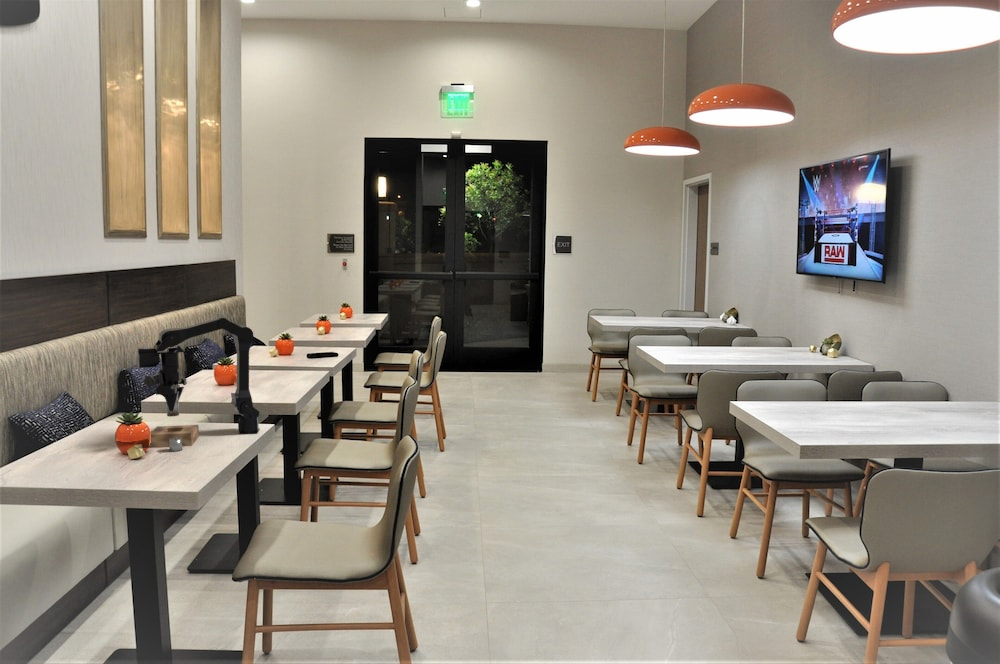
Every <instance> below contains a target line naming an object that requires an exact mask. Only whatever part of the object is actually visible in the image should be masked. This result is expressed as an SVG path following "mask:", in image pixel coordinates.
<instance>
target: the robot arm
mask: <svg viewBox="0 0 1000 664" xmlns="http://www.w3.org/2000/svg"><path fill="white" fill-rule="evenodd" d="M219 330H224V331H225V332H228V333H230V334H231V335H232V337H233V342H234V345H235V349H236V389H235V392H231V393H230V394H231V395H230V396H231V402H230V405H232V408H233V409H234V410H235V411H236V412H238V414H239V415H240V416H239V417H238V418H239V419H238V421H237V428H238V429H237V430H238V432H239V433H238V434H239V435H257V434H258V433H259V431H260V427H259V426H260V425H259V416H260V411H259V410H258V409H257V408H255V407H254V403H253V397H252V394H251V392H250V391H251V390H250V350H251V347H252V344H253V340H254V331H253V330H252V329H251V328H250V327H248V326H246V325H242V324H241V325H238V324H236V323H235V322H232V321H230V320H228V319H227V318H226V317H223V316H219V317H217V318H215V319H214V318H213V319H210V320H206V321H203V322H200V323H196V324H194V325H190V326H186V327H176V328H167V329H166V328H165V329H163V330H161V331H160V332H159V335H158V340H157V341H156V343H155V344H154V345H153V347H147V348H144V347H141V348H140V347H139V348H138V347H137V353H136V365H137V368H138V369H148V368H156V367H157V366H158V365H161V367H160V368H161V369H159V372H158V373H156V374H153V375H152V374H149V375H146V376H145V377H144V378H145V379H143V384H144V385H145V387H146V388H147V389H149V388H151V387H152V386H156V385H158V386H157V387H156V388H155V395H156V396H157V395H158V396H159V395H160V396H162V397H163V398H164V399H165V403H166V402H167V405H168V408H169V410H170V411H173V409H174V406H175V403H176V400H177V397H178V400H179V401H180V399H181V396H182V395H183V394H182V393H183V392H184V389H185V387H184V386H186V385H187V378H186V377H185V376H181V375H180V371H181V370H182V367H181V366H180V358H179V357H180V355H179V353H184V352H186V351H185V350H184V348H182V347H181V346H180V344H182V343H184V342H185V341H187V340H189V339H191V338H195V337H199V336H202V335H205V334H209V333H212V332H216V331H219ZM175 346H176V347H175ZM181 385H182V386H181Z"/></svg>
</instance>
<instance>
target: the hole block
mask: <svg viewBox="0 0 1000 664" xmlns="http://www.w3.org/2000/svg"><path fill="white" fill-rule="evenodd" d="M199 427H200V426H199V424H184V425H162V426H160V425H159V426H158V425H157V426H156V427H155V428H153V430H152V431H151V432H150V433H151V443H150V446H149V445H148V448H149V449H150V448H151V449H152V448H169V439H171V438H177V437H179V438H182V447H192V446H193V445H194V443H195V442H196V441H197V440H198V439H199V438H200V433H199V432H200V430H199V429H200V428H199Z"/></svg>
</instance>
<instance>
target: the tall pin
mask: <svg viewBox="0 0 1000 664" xmlns="http://www.w3.org/2000/svg"><path fill="white" fill-rule="evenodd" d="M179 401H180V399H179V400H178V397H177V400H176V403H175V406H174V409H173V411H170V410H169V408H168V405H167V402H166V401H165V404H166V406H165V407H166V408H165V409H166V416H167V417H178V416H179V415H180V406H179V405H180V404H179Z"/></svg>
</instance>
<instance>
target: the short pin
mask: <svg viewBox="0 0 1000 664" xmlns="http://www.w3.org/2000/svg"><path fill="white" fill-rule="evenodd" d="M168 448H169V452H171V453H178V452H182V451H183V446H182V438H179V437H177V438H171V439H169V447H168Z"/></svg>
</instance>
